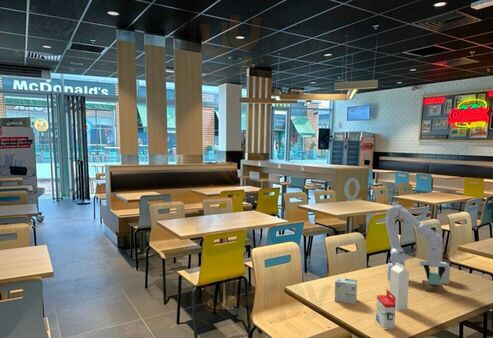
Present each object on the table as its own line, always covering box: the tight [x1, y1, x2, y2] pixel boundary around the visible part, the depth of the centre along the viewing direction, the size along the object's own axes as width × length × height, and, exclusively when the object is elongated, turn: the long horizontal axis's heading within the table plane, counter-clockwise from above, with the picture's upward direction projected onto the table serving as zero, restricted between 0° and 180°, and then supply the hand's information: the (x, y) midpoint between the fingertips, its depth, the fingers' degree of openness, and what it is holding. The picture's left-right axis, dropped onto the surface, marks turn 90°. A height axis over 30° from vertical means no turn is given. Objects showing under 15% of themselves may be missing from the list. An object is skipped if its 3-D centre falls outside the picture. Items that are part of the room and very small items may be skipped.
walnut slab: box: [421, 279, 445, 294], centre depth 188 cm, size 9×9×3 cm
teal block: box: [426, 271, 440, 285], centre depth 187 cm, size 5×5×5 cm
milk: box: [389, 262, 410, 311], centre depth 166 cm, size 6×6×22 cm
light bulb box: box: [334, 276, 358, 305], centre depth 173 cm, size 11×7×11 cm, turn 71°
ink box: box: [375, 289, 396, 330], centre depth 150 cm, size 8×5×15 cm, turn 3°
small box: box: [434, 261, 451, 285], centre depth 198 cm, size 8×6×10 cm
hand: (433, 279), depth 188 cm, fingers closed on teal block, 5 cm apart
